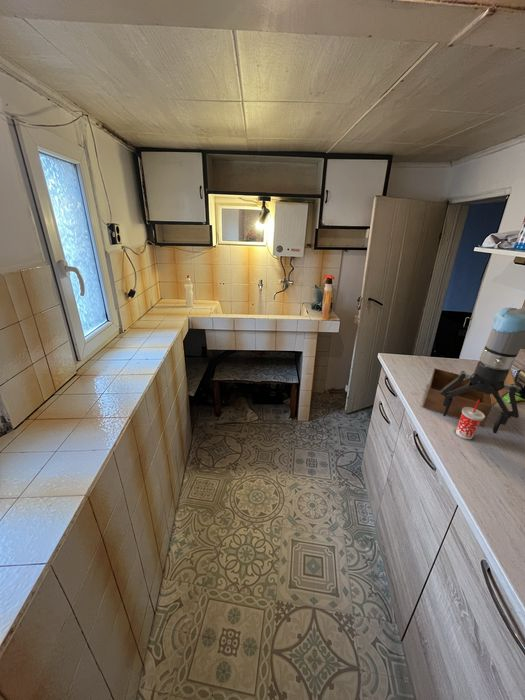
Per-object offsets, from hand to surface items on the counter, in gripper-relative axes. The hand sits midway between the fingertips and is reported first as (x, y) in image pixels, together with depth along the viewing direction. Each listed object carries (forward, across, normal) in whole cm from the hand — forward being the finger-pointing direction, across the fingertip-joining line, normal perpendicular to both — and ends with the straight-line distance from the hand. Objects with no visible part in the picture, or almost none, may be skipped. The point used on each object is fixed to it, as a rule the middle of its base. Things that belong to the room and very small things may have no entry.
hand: (468, 422), depth 92 cm
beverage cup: (+5, 0, 0) cm, 5 cm away
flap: (-9, +7, +19) cm, 22 cm away
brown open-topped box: (+5, -4, +19) cm, 20 cm away
